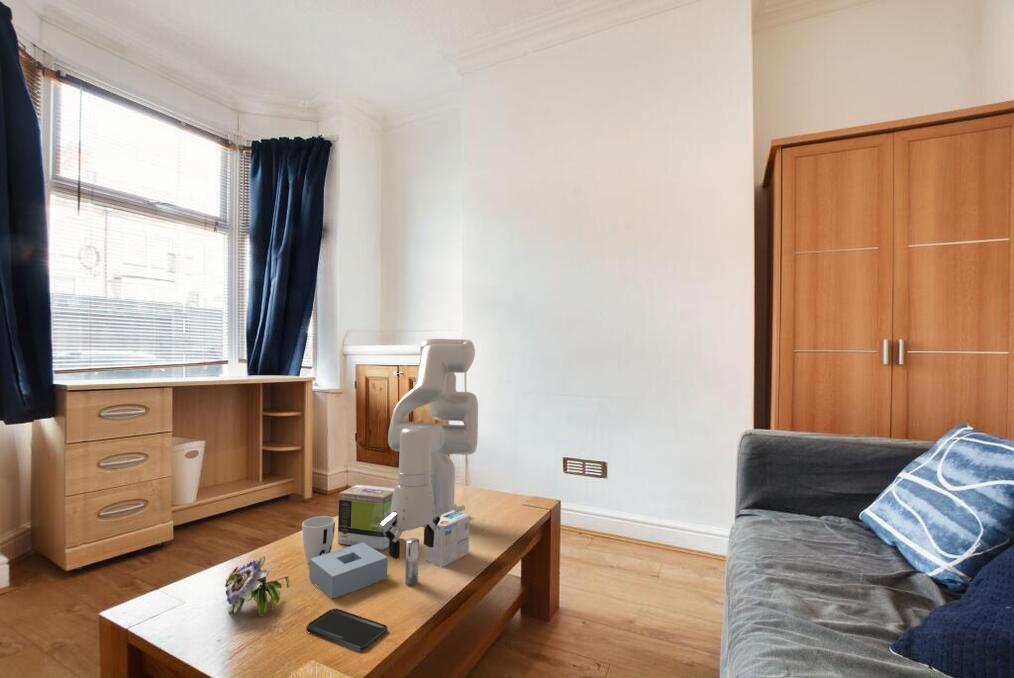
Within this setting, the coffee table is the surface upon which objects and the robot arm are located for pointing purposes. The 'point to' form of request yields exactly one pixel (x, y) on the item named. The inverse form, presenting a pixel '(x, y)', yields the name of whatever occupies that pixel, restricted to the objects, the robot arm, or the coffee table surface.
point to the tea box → (364, 515)
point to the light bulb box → (449, 539)
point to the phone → (347, 629)
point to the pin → (412, 561)
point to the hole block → (348, 569)
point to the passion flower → (252, 587)
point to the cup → (318, 536)
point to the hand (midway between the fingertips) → (411, 551)
